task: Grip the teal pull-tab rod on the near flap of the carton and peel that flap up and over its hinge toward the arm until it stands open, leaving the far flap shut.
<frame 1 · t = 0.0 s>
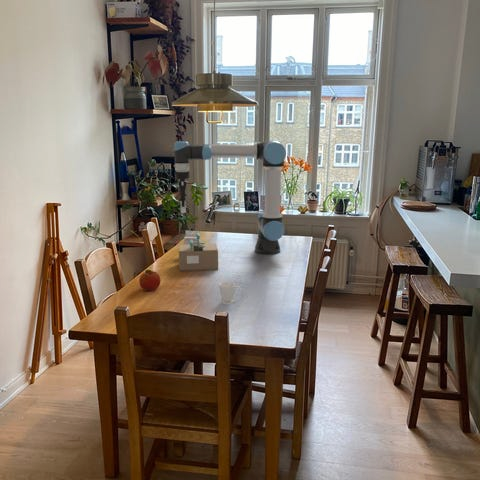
hand: (183, 210, 253), 28 cm above the table, fingers open, 13 cm apart
fruit: (150, 289, 213), on the table
flap near: (206, 241, 245), point 13 cm above the table, hinge at 0.0°
ink box: (192, 257, 267), on the table
cup: (230, 302, 198), on the table
flap far: (186, 244, 244), point 12 cm above the table, hinge at 0.0°
carton: (198, 266, 248), on the table
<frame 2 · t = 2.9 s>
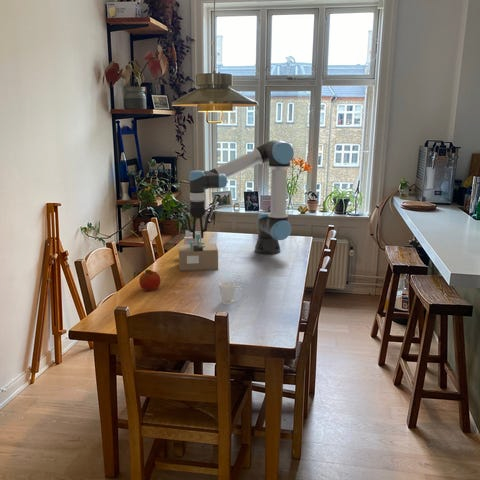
hand: (198, 244, 248), 11 cm above the table, fingers closed on flap near, 2 cm apart
flap near: (206, 241, 245), point 13 cm above the table, hinge at 0.0°, touching gripper
everything else where it was.
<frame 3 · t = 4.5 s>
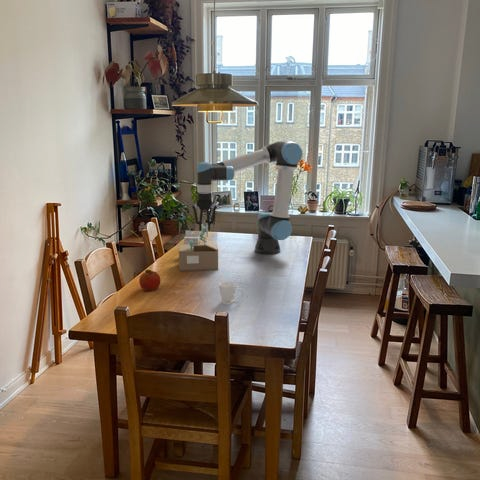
hand: (204, 236, 247), 16 cm above the table, fingers closed on flap near, 2 cm apart
flap near: (210, 238, 245), point 15 cm above the table, hinge at 25.2°, touching gripper
everything else where it was.
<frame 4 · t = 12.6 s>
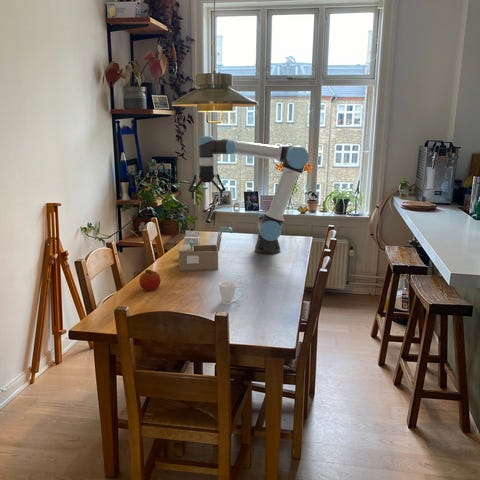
hand: (207, 204, 257), 31 cm above the table, fingers open, 13 cm apart
flap near: (225, 238, 246), point 15 cm above the table, hinge at 99.3°
everything else where it was.
at the end: flap near at +99° (first picture: +0°); flap far at +0° (first picture: +0°) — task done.
